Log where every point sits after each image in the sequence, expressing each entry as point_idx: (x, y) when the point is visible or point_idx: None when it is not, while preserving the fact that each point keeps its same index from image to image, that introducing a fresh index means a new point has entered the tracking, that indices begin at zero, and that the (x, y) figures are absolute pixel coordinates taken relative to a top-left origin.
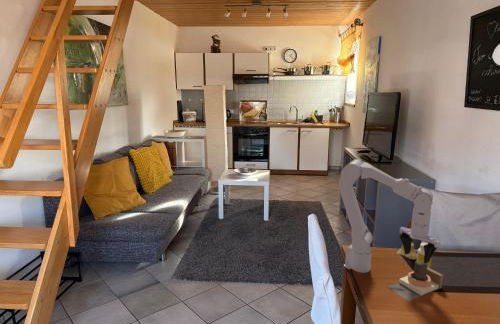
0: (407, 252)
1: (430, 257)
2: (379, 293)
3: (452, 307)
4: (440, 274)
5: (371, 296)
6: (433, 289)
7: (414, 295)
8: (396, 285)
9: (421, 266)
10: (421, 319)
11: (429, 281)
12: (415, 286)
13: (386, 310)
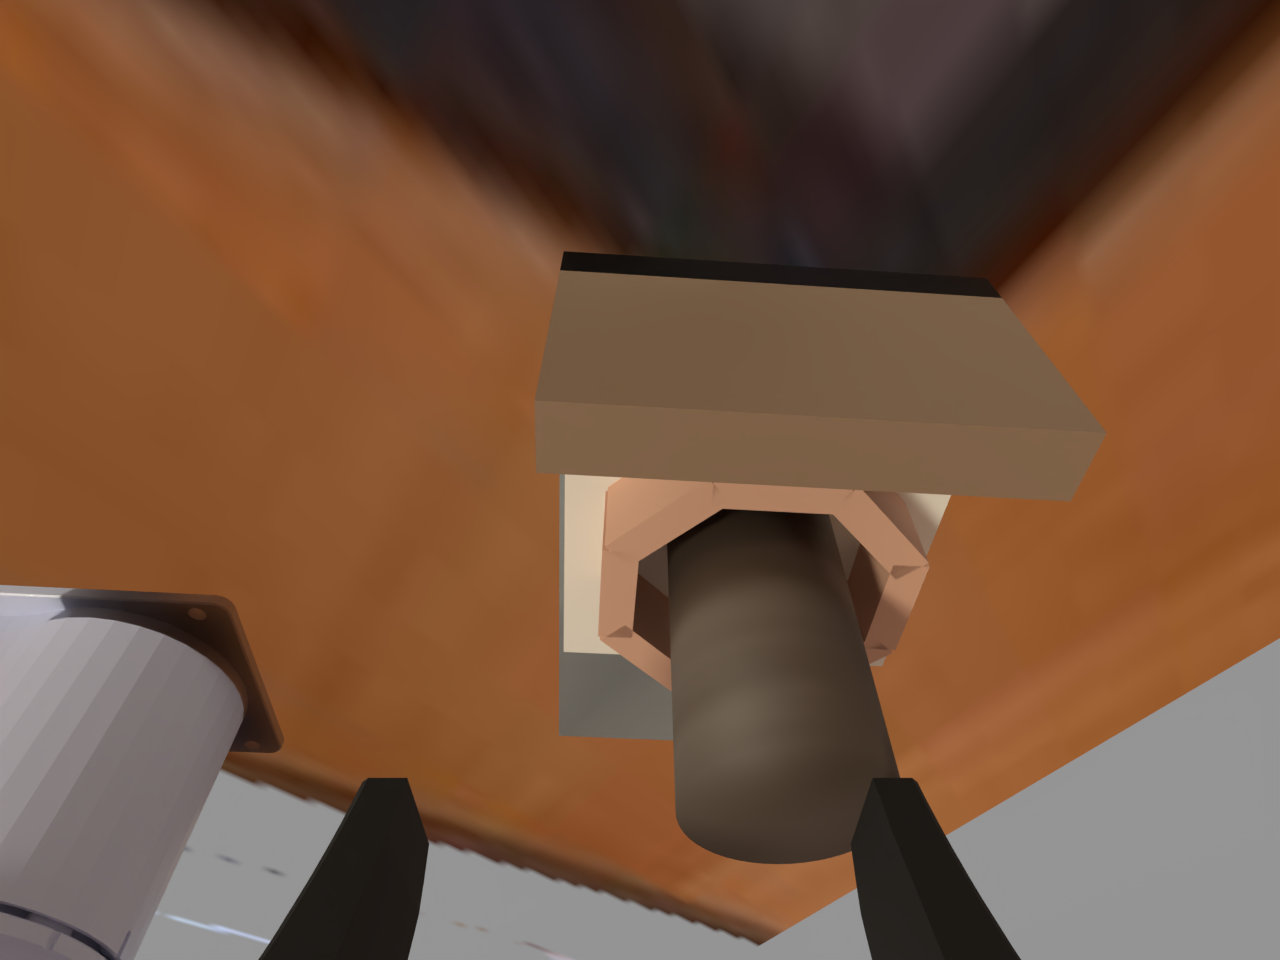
0: (413, 862)
1: (970, 902)
2: (579, 771)
3: (1194, 492)
4: (1054, 458)
5: (577, 822)
6: None
7: None
8: (594, 662)
9: (842, 851)
10: (992, 774)
11: (916, 585)
12: None
13: None
